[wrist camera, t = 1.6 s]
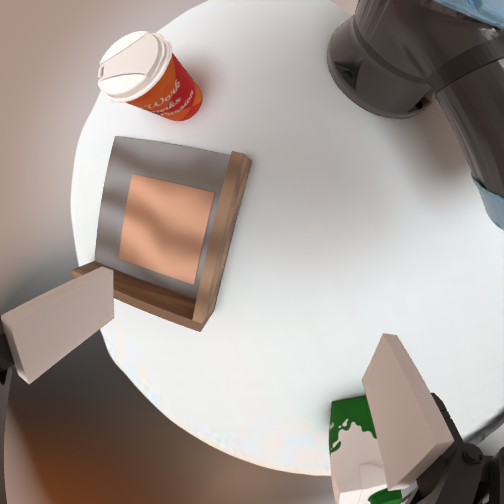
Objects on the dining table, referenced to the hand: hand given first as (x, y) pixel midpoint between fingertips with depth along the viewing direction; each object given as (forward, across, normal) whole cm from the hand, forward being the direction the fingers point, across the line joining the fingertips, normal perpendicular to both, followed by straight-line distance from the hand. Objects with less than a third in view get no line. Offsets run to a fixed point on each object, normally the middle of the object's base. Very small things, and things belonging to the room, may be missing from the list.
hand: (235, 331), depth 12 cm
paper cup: (+22, -15, +16) cm, 31 cm away
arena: (+22, -15, 0) cm, 26 cm away
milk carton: (+22, +19, -25) cm, 38 cm away
